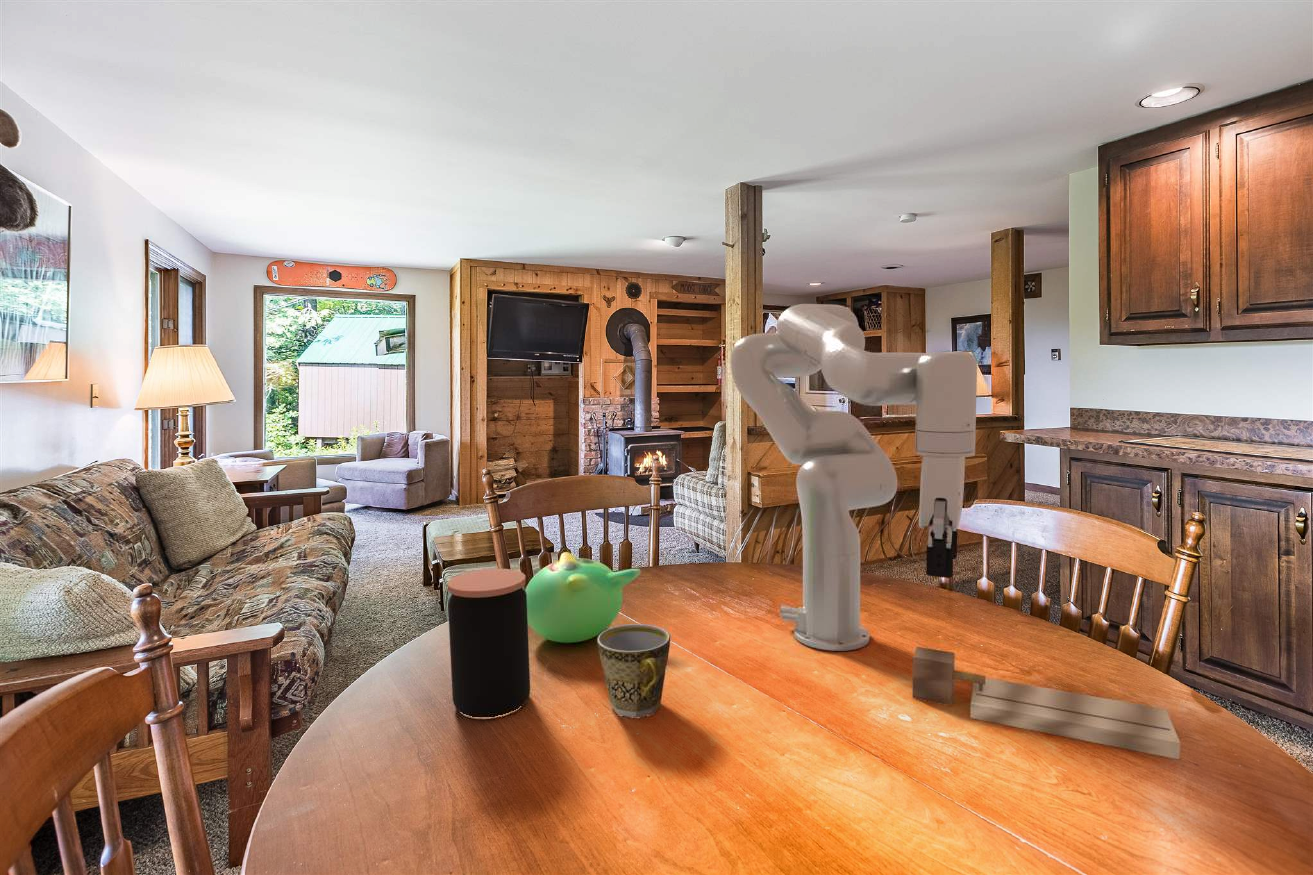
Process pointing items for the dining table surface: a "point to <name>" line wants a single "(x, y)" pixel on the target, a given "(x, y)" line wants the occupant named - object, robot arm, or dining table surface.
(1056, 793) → the dining table surface
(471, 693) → the coffee jar
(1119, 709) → the board
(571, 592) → the plump green bird figurine
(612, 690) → the ceramic cup
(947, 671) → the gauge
